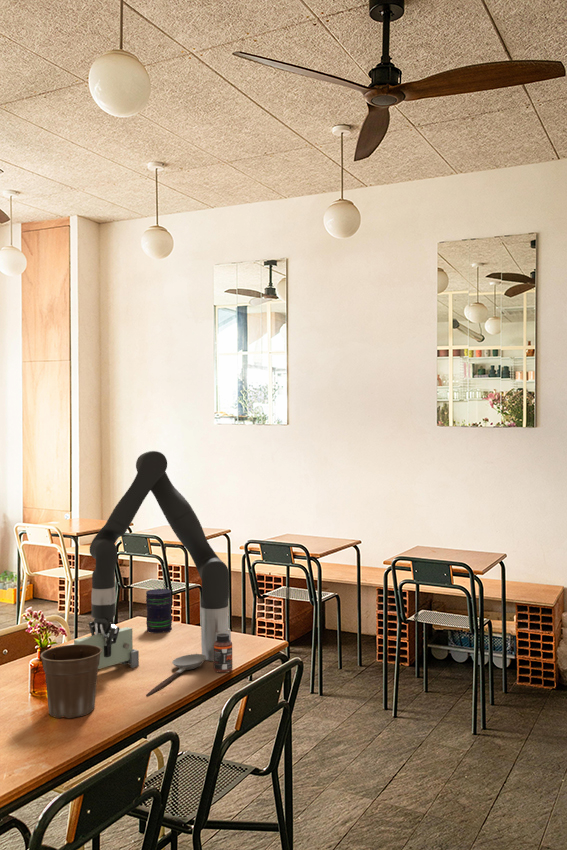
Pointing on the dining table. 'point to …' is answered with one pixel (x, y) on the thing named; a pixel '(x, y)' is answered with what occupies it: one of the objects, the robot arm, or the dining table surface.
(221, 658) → the supplement bottle
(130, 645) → the door
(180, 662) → the spoon
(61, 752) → the dining table surface
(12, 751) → the dining table surface
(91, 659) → the plant pot
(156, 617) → the dark blue barrel
